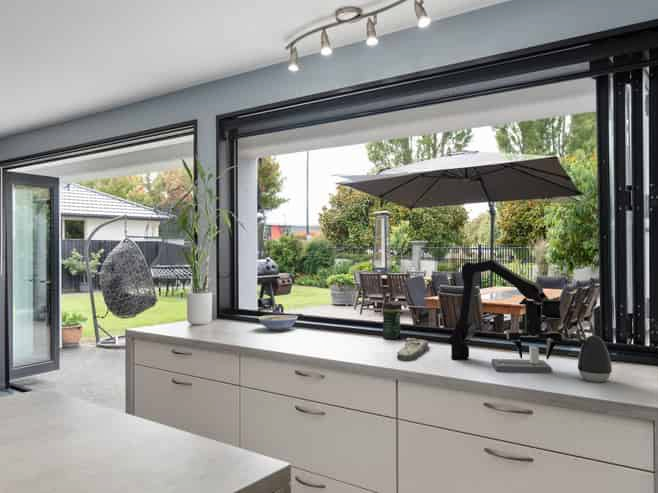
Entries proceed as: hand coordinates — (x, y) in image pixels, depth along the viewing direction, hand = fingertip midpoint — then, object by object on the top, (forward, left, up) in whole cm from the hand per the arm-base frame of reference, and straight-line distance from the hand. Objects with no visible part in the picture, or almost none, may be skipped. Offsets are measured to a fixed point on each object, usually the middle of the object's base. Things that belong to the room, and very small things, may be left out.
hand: (534, 358), depth 187 cm
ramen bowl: (-122, +81, -4) cm, 146 cm away
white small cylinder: (0, 0, -1) cm, 1 cm away
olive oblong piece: (-45, +25, -4) cm, 52 cm away
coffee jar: (-56, +60, -4) cm, 82 cm away
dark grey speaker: (+16, -15, -4) cm, 22 cm away
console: (-5, 0, -4) cm, 6 cm away
